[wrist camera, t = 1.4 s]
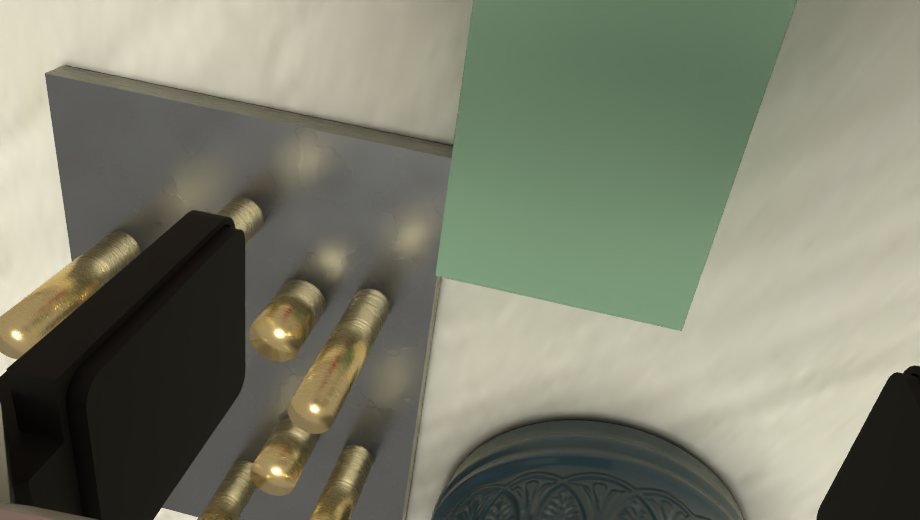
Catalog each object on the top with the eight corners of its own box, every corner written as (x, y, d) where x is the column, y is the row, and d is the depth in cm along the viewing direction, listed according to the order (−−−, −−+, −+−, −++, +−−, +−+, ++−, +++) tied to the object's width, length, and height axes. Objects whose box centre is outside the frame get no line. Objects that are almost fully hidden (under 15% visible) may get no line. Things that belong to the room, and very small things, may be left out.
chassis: (460, 147, 25) (404, 248, 19) (400, 552, 35) (352, 700, 29) (64, 65, 26) (-105, 135, 20) (117, 476, 37) (16, 603, 31)
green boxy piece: (778, -80, 20) (815, -55, 16) (674, 246, 25) (681, 330, 21) (519, -123, 21) (488, -109, 17) (468, 202, 26) (435, 275, 22)
